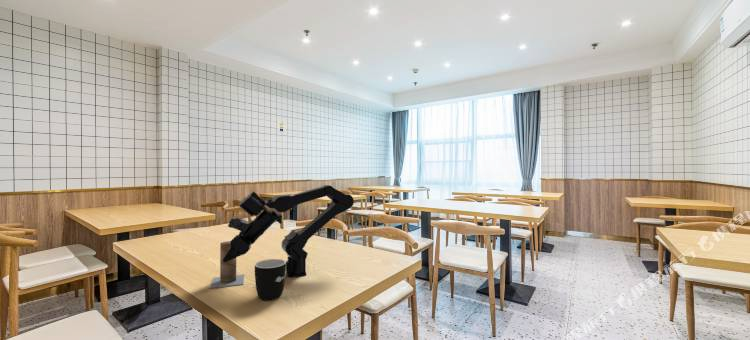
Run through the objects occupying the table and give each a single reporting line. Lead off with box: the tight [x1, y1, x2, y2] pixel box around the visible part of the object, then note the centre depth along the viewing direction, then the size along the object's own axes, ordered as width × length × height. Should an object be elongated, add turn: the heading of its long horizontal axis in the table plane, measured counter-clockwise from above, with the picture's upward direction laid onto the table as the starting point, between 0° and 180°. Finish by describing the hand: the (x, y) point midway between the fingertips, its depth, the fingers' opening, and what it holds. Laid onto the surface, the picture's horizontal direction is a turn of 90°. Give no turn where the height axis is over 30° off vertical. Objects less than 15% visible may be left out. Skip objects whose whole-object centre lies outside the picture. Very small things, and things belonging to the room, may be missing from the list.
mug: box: [254, 258, 286, 302], centre depth 94 cm, size 12×9×10 cm
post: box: [219, 240, 237, 283], centre depth 106 cm, size 5×5×13 cm
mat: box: [209, 274, 245, 289], centre depth 105 cm, size 10×10×1 cm
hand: (227, 257), depth 105 cm, fingers open, 9 cm apart
